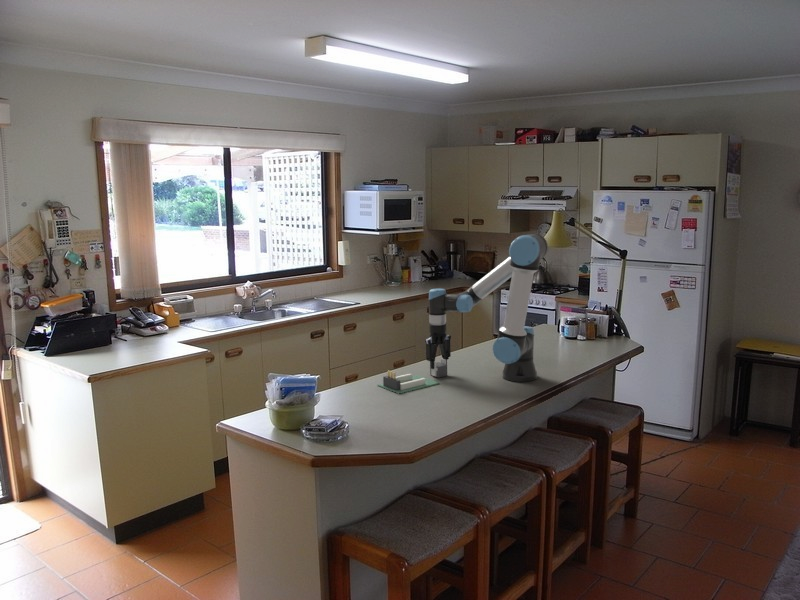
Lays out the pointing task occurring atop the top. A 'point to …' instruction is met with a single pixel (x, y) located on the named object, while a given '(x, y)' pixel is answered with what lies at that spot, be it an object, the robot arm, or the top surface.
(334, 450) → the top surface
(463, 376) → the top surface
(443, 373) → the plug
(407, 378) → the header board
